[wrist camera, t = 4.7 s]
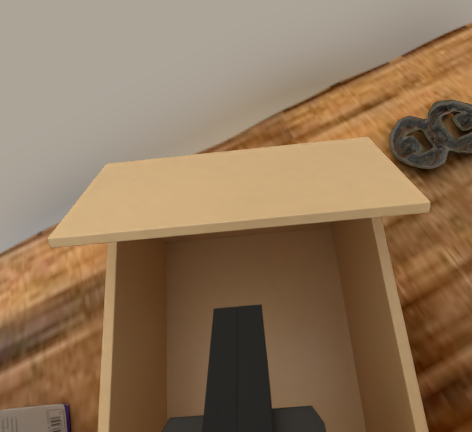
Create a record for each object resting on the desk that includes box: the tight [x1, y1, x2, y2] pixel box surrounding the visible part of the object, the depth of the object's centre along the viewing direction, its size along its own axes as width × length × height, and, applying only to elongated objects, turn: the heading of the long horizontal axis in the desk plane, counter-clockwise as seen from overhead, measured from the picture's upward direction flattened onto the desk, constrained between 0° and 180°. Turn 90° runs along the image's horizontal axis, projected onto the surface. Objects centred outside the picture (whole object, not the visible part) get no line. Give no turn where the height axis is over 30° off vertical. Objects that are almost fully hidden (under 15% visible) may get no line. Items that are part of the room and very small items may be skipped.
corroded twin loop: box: [390, 100, 472, 169], centre depth 32 cm, size 5×8×1 cm, turn 114°
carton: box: [98, 217, 429, 432], centre depth 23 cm, size 15×13×10 cm
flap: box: [48, 137, 430, 248], centre depth 17 cm, size 7×13×1 cm
